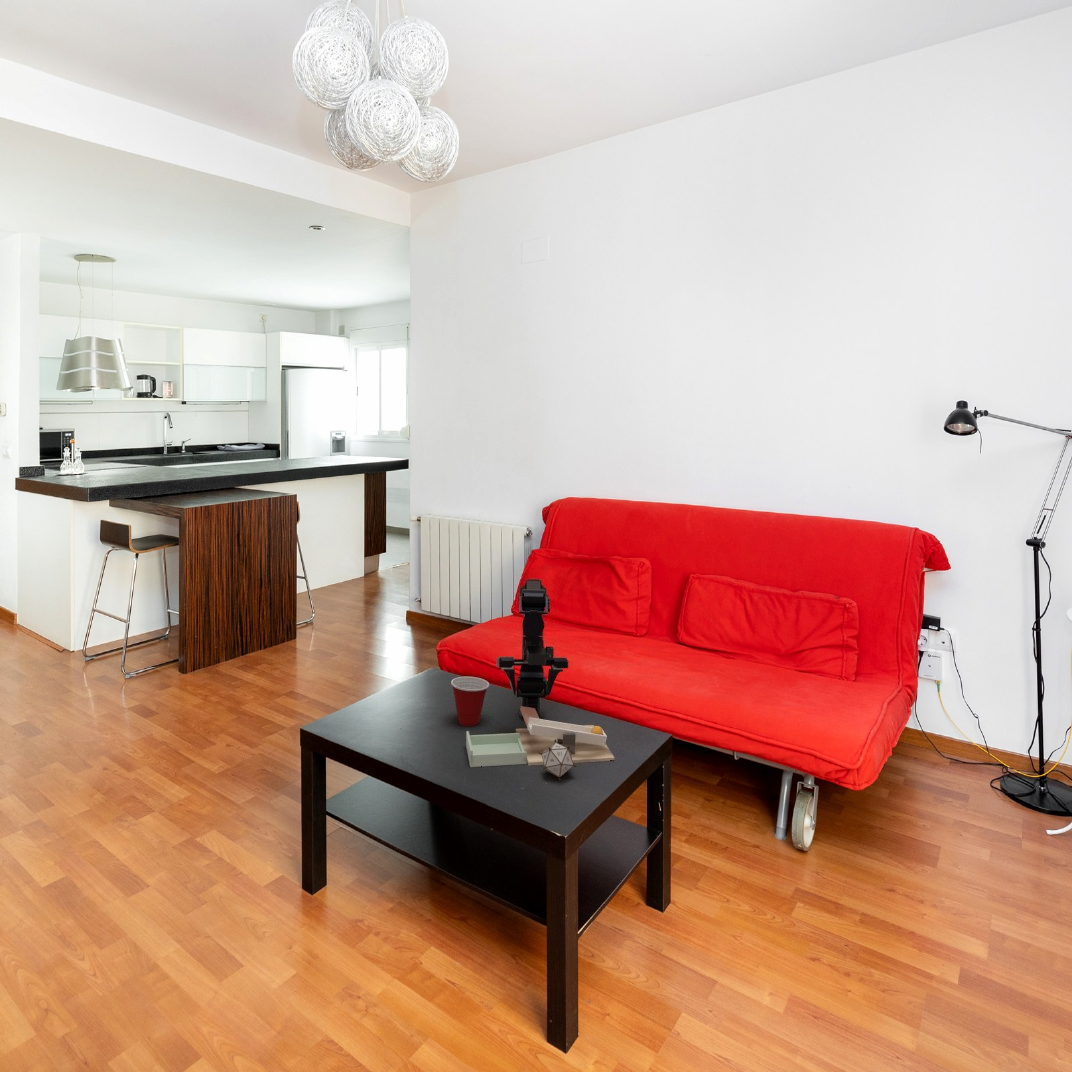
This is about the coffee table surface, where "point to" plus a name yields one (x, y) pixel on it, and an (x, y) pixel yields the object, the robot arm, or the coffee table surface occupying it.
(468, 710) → the plastic cup
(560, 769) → the game die
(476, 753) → the tray
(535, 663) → the robot arm
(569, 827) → the coffee table surface
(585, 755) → the lever stand
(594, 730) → the ball
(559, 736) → the lever
